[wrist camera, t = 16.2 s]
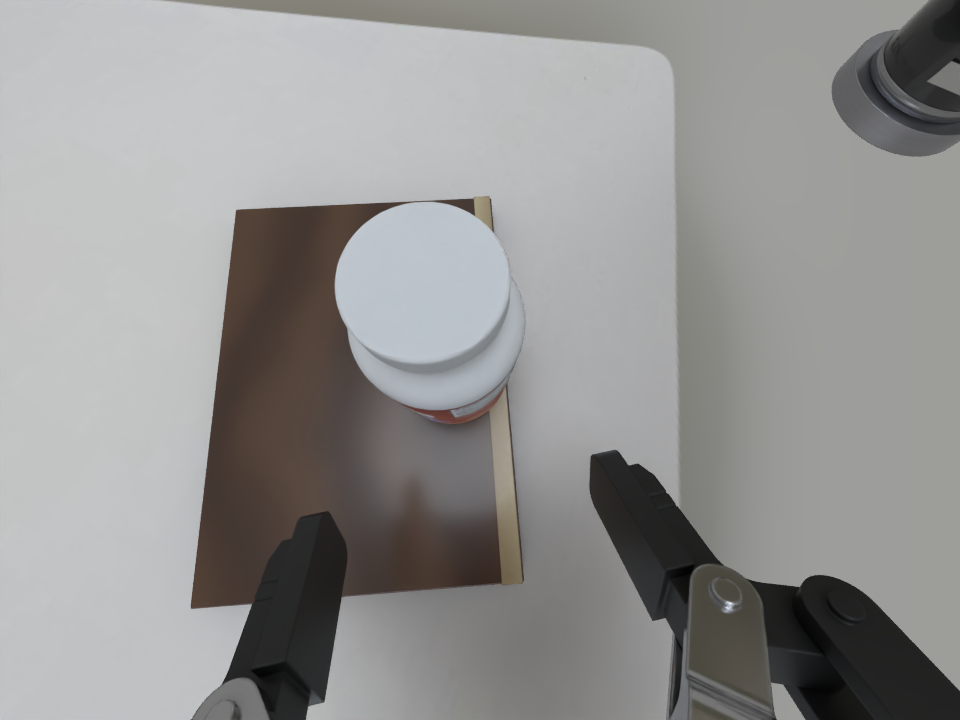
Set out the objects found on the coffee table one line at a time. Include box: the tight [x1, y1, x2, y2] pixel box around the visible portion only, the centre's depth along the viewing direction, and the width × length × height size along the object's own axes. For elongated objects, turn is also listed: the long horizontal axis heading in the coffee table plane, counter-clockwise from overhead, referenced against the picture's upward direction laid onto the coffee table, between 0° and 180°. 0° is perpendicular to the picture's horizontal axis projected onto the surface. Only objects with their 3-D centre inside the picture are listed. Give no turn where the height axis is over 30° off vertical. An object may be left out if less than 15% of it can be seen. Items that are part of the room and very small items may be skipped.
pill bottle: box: [335, 202, 525, 424], centre depth 15 cm, size 6×6×11 cm
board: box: [191, 196, 524, 609], centre depth 21 cm, size 16×22×2 cm
